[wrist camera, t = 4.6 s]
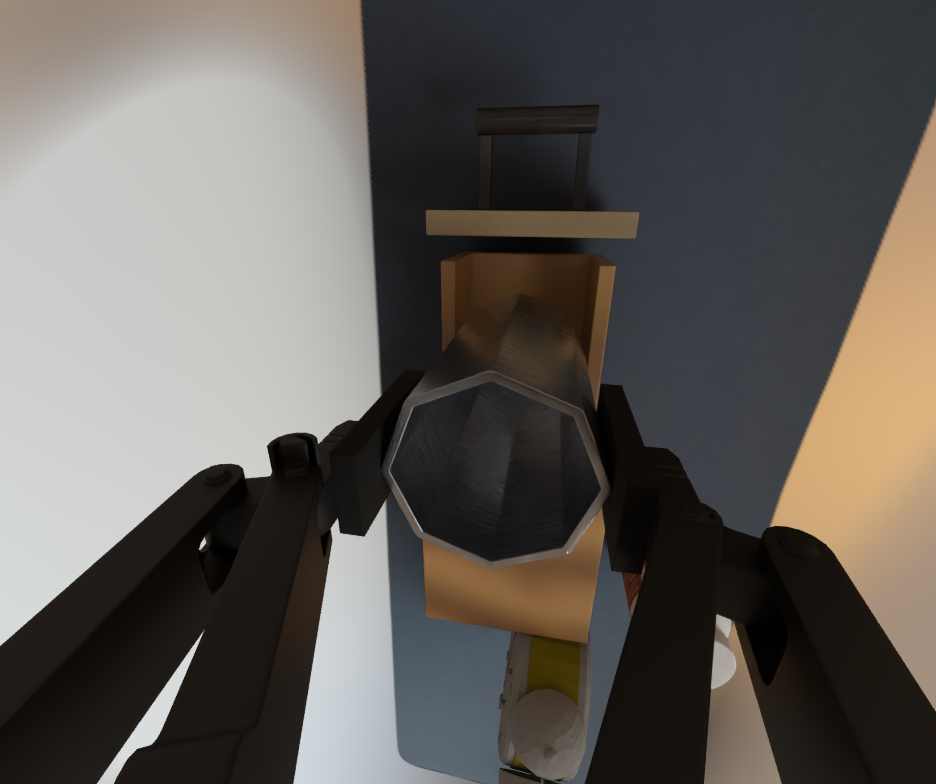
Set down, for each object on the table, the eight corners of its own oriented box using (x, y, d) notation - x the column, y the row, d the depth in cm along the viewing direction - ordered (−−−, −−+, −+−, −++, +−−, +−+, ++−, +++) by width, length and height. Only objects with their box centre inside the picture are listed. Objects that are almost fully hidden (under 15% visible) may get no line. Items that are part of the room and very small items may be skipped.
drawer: (453, 124, 26) (422, 98, 20) (631, 120, 25) (657, 89, 18) (454, 399, 33) (431, 442, 27) (593, 411, 32) (602, 459, 26)
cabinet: (449, 391, 34) (418, 444, 26) (601, 403, 32) (616, 464, 25) (450, 537, 40) (425, 617, 32) (580, 555, 38) (587, 644, 30)
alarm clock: (560, 651, 43) (564, 856, 29) (492, 635, 44) (465, 827, 30) (585, 562, 38) (603, 757, 25) (508, 546, 39) (485, 726, 25)
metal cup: (444, 321, 24) (350, 418, 13) (557, 276, 22) (559, 345, 11) (488, 421, 26) (440, 579, 15) (596, 387, 24) (632, 542, 13)
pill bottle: (651, 579, 38) (687, 713, 27) (599, 536, 37) (616, 658, 27) (712, 540, 35) (775, 673, 25) (657, 494, 34) (700, 611, 24)
